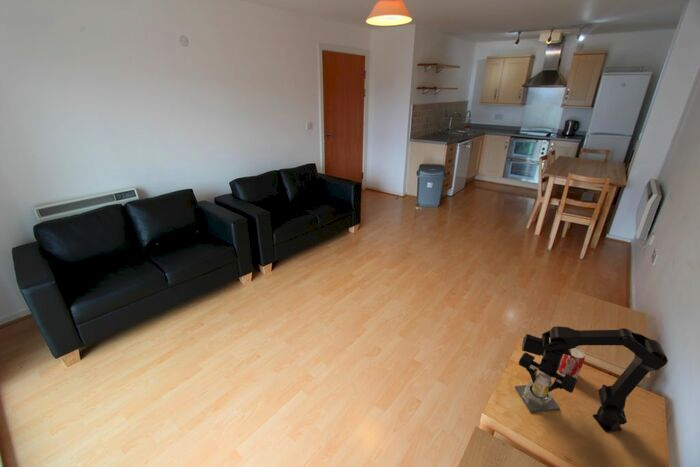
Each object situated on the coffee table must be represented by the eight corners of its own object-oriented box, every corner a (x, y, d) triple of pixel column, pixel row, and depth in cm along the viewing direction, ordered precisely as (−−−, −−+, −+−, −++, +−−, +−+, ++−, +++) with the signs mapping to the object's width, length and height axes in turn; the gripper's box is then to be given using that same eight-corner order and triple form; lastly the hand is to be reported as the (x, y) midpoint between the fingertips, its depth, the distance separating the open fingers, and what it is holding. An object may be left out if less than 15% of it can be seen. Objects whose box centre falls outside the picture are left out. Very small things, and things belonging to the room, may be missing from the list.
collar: (559, 409, 127) (562, 403, 125) (530, 412, 126) (532, 405, 124) (542, 385, 136) (544, 378, 135) (514, 387, 136) (516, 381, 134)
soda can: (557, 377, 140) (566, 355, 134) (557, 365, 146) (565, 343, 140) (577, 383, 137) (587, 361, 131) (575, 371, 143) (585, 349, 137)
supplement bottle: (532, 395, 128) (537, 377, 124) (531, 384, 132) (537, 367, 128) (547, 399, 126) (554, 382, 122) (546, 388, 130) (552, 371, 126)
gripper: (587, 359, 120) (574, 388, 127) (533, 333, 132) (524, 361, 139) (578, 377, 113) (565, 407, 120) (522, 348, 125) (513, 377, 132)
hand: (541, 386), depth 128 cm, fingers closed on supplement bottle, 5 cm apart
